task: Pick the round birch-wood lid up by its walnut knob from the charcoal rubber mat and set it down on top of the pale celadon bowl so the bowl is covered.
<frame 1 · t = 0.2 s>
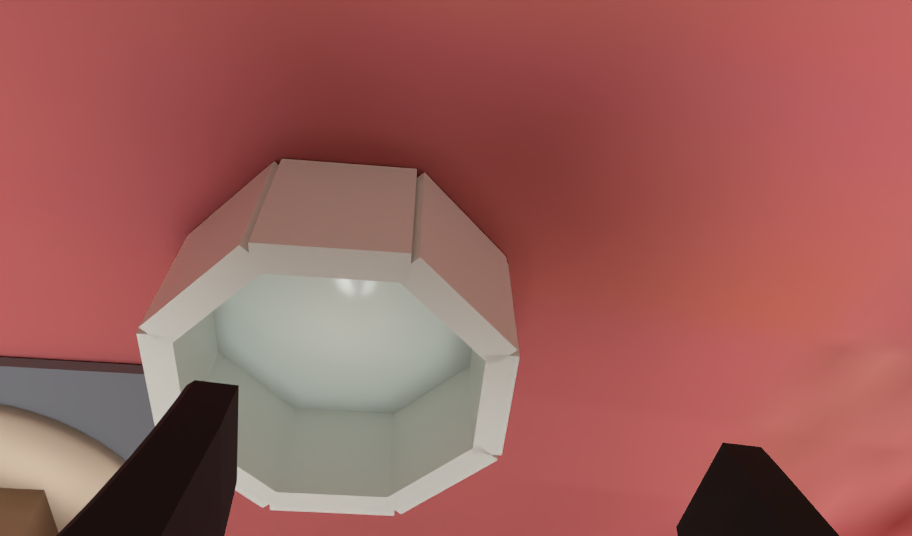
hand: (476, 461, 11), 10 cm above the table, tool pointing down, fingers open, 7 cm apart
lid: (6, 509, 27), resting on mat
mat: (10, 501, 27), on the table
bowl: (348, 301, 22), on the table
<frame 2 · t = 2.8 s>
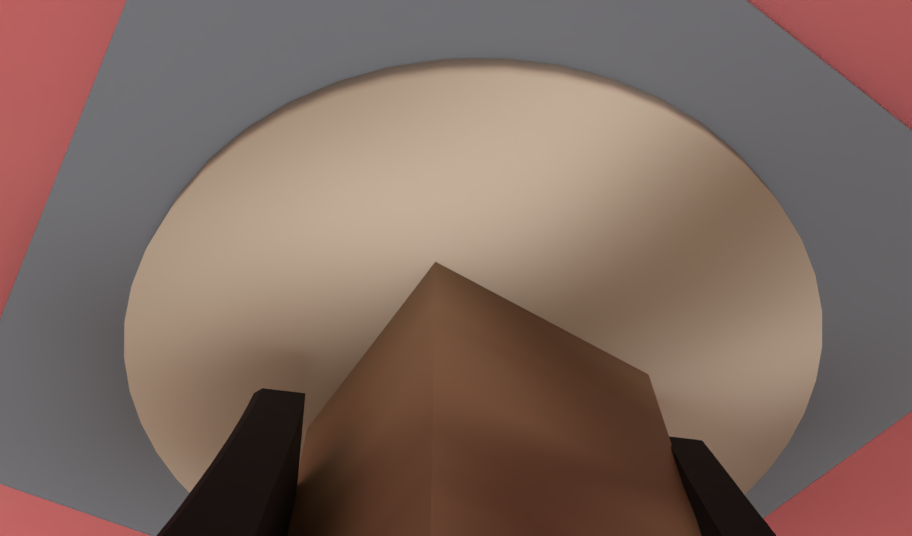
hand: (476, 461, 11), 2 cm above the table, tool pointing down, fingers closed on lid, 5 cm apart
lid: (472, 377, 13), resting on mat, touching gripper
mat: (471, 362, 13), on the table
when the fingers open (7 cm above the table, at t = 9.7 s): lid drops 1 cm, resting on bowl.
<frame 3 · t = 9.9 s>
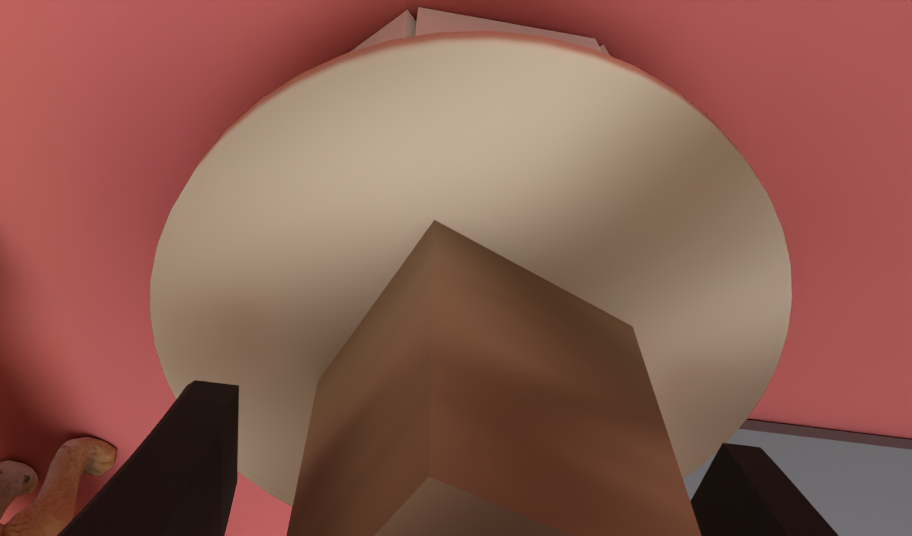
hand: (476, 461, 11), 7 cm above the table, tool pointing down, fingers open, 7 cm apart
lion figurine: (32, 383, 20), on the table
lid: (470, 332, 14), point 4 cm above the table, touching bowl
bowl: (465, 220, 17), on the table
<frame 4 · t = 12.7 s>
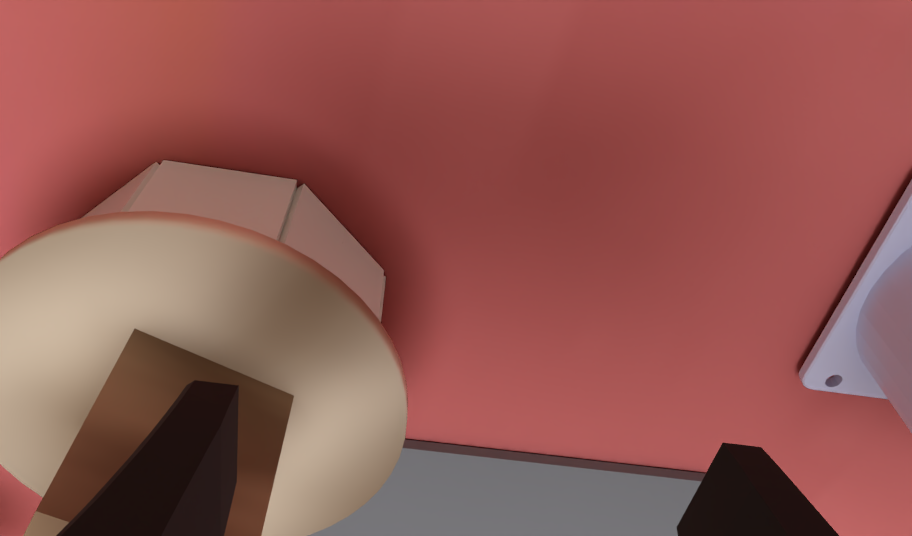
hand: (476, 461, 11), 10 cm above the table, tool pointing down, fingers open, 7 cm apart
lid: (192, 397, 19), point 4 cm above the table, touching bowl
bowl: (229, 302, 22), on the table
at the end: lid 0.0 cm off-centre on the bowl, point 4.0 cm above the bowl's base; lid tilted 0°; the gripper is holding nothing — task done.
